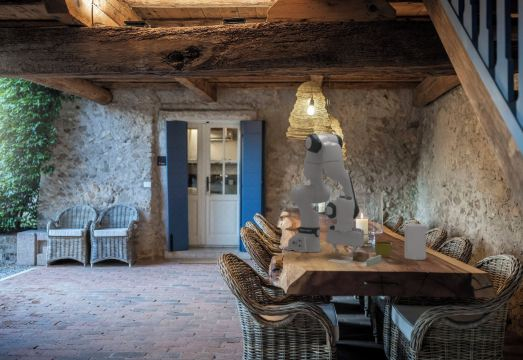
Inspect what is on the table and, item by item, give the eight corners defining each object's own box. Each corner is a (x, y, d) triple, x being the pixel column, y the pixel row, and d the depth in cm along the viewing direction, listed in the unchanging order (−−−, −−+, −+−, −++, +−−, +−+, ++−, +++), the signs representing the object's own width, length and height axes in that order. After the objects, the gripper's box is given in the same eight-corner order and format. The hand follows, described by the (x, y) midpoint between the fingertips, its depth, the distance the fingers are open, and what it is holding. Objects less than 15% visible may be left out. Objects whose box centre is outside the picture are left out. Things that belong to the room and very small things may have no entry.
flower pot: (391, 261, 245) (392, 244, 245) (374, 260, 247) (375, 243, 247) (390, 258, 254) (391, 241, 254) (374, 257, 256) (374, 241, 255)
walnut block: (352, 260, 236) (352, 253, 236) (358, 259, 241) (358, 251, 241) (363, 262, 232) (363, 254, 232) (368, 260, 237) (368, 252, 237)
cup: (426, 260, 248) (426, 226, 247) (404, 259, 251) (404, 225, 251) (425, 257, 258) (425, 224, 258) (404, 256, 261) (404, 223, 261)
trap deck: (326, 263, 235) (326, 255, 235) (341, 258, 250) (341, 250, 249) (368, 269, 223) (368, 260, 223) (381, 263, 237) (381, 255, 237)
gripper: (366, 228, 238) (366, 254, 238) (330, 225, 250) (330, 250, 250) (361, 229, 233) (361, 256, 233) (325, 226, 245) (324, 252, 245)
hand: (344, 253), depth 242 cm, fingers open, 8 cm apart
